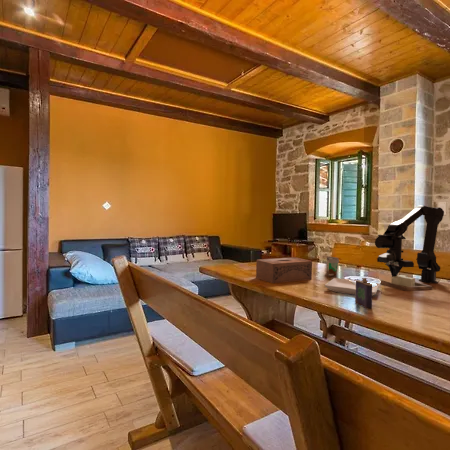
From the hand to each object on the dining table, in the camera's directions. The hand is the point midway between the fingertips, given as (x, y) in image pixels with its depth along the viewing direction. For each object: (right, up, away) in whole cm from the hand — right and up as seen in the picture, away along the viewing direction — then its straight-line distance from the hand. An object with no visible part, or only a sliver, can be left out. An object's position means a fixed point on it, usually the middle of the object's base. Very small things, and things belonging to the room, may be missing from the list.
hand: (393, 278), depth 165 cm
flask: (-34, -4, -42) cm, 54 cm away
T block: (+3, -3, -4) cm, 6 cm away
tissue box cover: (-56, -2, +6) cm, 56 cm away
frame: (+2, -3, -6) cm, 7 cm away
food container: (-26, -2, +17) cm, 31 cm away
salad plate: (-28, -3, -18) cm, 34 cm away
